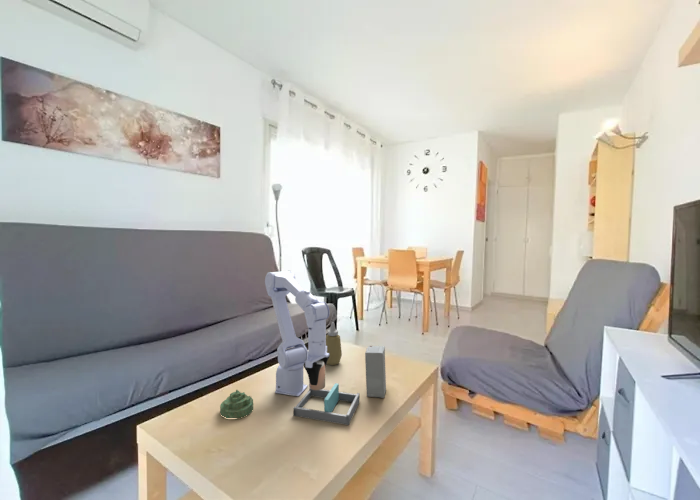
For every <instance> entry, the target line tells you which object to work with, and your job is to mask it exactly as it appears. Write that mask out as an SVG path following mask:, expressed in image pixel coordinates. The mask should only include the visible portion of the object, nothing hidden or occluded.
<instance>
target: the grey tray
mask: <svg viewBox="0 0 700 500" xmlns="http://www.w3.org/2000/svg"><path fill="white" fill-rule="evenodd" d="M330 390H331V389H330ZM330 390H329V389H325V388H323V389H321V390H312V389H310V388H309V389H308V391H307V392H306V393H305V394H304V396H303V397H302V398H301V400H300V401H299V402H298V403H297V404H296V406H294V407H292V408H293V414H292V415H293V416H294V417H299V418H306V419H311V420H316V421H322V422H328V423H333V424H334V423H335V424H340V425H346V426H349V425H350V423H351V422H352V419H353V417H354V416H355V415H354V414H355V412H356V410H357V408H358V406H359V403H360V392H357V393H350V392H344V391H343V392H342V391H339V400H338V401H344V402H348V403H349V402H351V405H350V407H349V409H348V410H347V413H346V414H342V413H338V412H337V413H336V412H325V411H324V410H318V409H312V408H306V407H304V406H305V405H306V404H307V402H308V401H309V400H310V398H311V397H317V398H322V399H325V398H326V396H327V395H328V393H329V392H330Z"/></svg>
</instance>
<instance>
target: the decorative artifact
mask: <svg viewBox="0 0 700 500" xmlns="http://www.w3.org/2000/svg"><path fill="white" fill-rule="evenodd" d="M219 409H220V410H219V412H220V413H221V415H222V416H224V417H226V418H240V419H242V418H241V417H243V418H245V417H244V416H246V415H247V416H249V415H250V414H252V412H253V411H254V399H253V398H252V397H251V395H248V394H246V393H245V392H241V391H240V390H238V389H235V391H233V392H231V393H230V394H229V395H228V396H227V398H226V399H224V400H223V401H222V402H221V403H220V405H219ZM252 410H253V411H252ZM248 414H249V415H248ZM221 415H220V416H221ZM247 416H246V417H247Z"/></svg>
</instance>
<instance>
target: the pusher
mask: <svg viewBox="0 0 700 500" xmlns="http://www.w3.org/2000/svg"><path fill="white" fill-rule="evenodd" d="M339 388H340V385H339V383H337V382H336V383H334V384H333V386H332V387H331V389H330V392H329V393H328V395H327V396H326V398H323V402H324V403H323V408H324V409H323V411H325V412H331V413H333V411H334V409H335V407H336V406H337V404H338V402H339V401H340V400H339V392H340V389H339Z"/></svg>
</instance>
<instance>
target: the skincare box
mask: <svg viewBox="0 0 700 500" xmlns="http://www.w3.org/2000/svg"><path fill="white" fill-rule="evenodd" d="M364 355H365V356H364V357H365V358H364V360H365V382H366V383H365V384H366V385H365V387H366V397H373V398H382V399H384V398H385V397H386V391H387V382H386V381H387V380H386V379H387V375H386V373H387V372H386V347H385V346H384V345H368V346H367V348H366V350H365V353H364Z"/></svg>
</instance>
